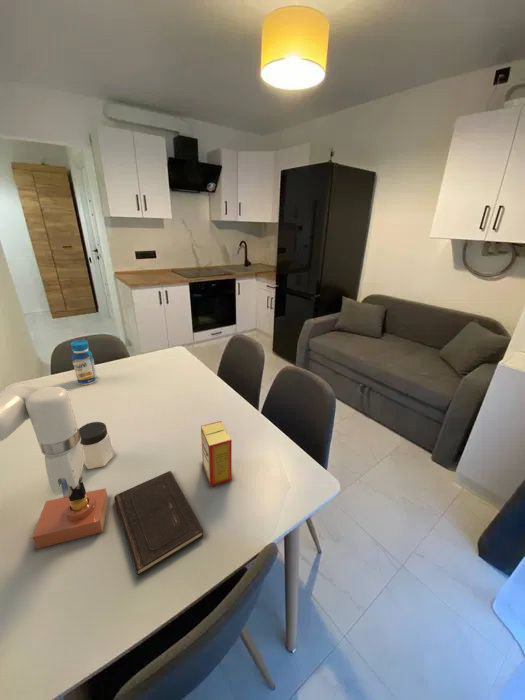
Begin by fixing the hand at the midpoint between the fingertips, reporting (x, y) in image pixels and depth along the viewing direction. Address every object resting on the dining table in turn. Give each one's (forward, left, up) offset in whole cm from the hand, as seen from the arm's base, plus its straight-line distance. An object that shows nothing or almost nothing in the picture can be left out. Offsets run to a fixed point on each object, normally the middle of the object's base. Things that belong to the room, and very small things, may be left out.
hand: (78, 497), depth 72 cm
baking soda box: (+36, +6, -9) cm, 37 cm away
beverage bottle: (-13, +78, -9) cm, 80 cm away
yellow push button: (0, 0, -3) cm, 3 cm away
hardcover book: (+18, -5, -9) cm, 20 cm away
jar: (0, +22, -9) cm, 24 cm away
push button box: (-2, 0, -8) cm, 9 cm away
